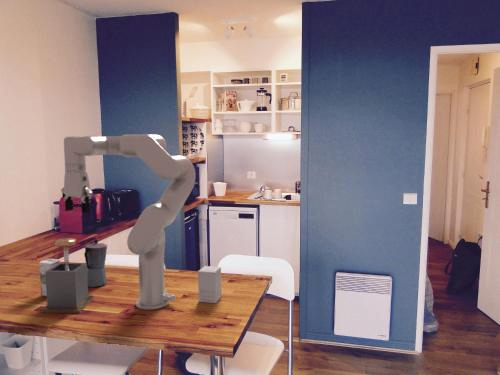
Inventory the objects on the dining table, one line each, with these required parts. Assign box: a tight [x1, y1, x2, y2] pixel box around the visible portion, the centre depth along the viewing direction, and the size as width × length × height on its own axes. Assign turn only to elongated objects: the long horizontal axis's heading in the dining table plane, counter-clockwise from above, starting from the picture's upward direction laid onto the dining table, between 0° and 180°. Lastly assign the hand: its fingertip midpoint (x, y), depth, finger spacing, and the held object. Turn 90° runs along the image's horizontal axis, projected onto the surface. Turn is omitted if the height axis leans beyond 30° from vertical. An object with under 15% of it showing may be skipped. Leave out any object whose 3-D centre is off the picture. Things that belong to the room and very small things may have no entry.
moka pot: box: [83, 239, 108, 288], centre depth 185 cm, size 10×15×20 cm, turn 174°
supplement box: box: [197, 265, 222, 304], centre depth 168 cm, size 7×7×13 cm
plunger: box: [54, 237, 77, 271], centre depth 161 cm, size 8×8×14 cm
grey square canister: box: [40, 262, 95, 314], centre depth 162 cm, size 14×14×15 cm
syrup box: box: [38, 258, 61, 298], centre depth 173 cm, size 6×6×14 cm
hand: (77, 211), depth 167 cm, fingers open, 9 cm apart
